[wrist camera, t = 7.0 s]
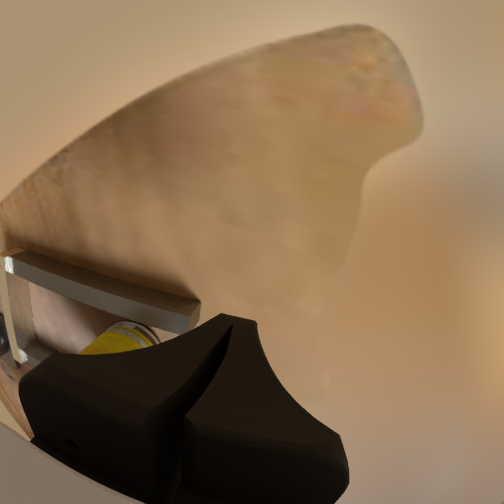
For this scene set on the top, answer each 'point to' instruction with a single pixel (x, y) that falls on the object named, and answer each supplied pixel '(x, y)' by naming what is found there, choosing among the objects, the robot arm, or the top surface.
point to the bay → (80, 300)
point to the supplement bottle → (121, 339)
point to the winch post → (6, 345)
